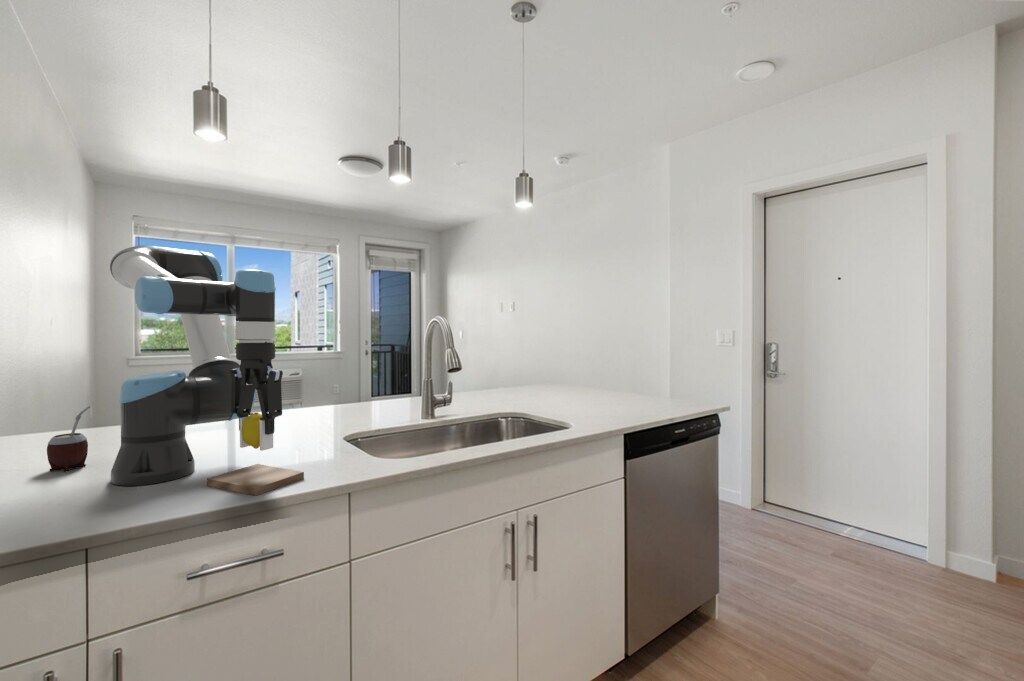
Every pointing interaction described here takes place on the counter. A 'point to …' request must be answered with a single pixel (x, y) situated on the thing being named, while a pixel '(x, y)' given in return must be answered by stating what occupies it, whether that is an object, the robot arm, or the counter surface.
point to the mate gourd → (68, 449)
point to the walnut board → (255, 479)
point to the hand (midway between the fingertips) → (256, 447)
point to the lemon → (252, 430)
